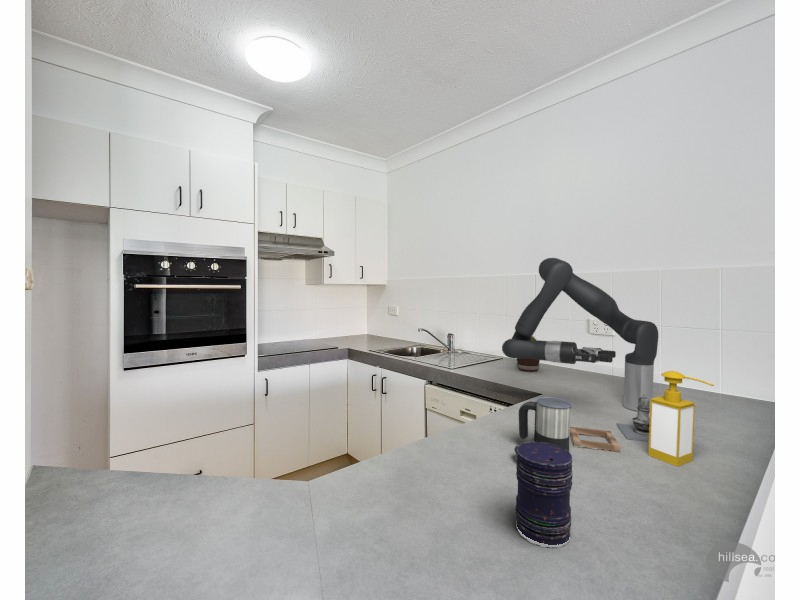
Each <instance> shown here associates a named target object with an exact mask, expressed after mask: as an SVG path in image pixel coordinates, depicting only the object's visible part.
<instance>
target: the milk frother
mask: <svg viewBox="0 0 800 600" xmlns="http://www.w3.org/2000/svg"><path fill="white" fill-rule="evenodd" d="M572 407H573V403H572V402H571V401H569V400H567V399H564V398H559V397H553V396H540V397H537V398H536V399H535V401H531V400H530V401H526V402H524V403H523V404H522V405H521V406H520V407H519V409H518V429H519V430H518V432H519V438H520V439H521V440H525V439H527V438H528V436H529V418H528V417H529V413H528V412H529V411H530V410H531V411H534V414H535V415H534V431H533V433H534V436H533V442H542V443H548V444H552V445H556V446H559V447H561V448H563V449H565V450H567V451H568V452H569V453H570V427H571V412H572V411H571V410H572V409H571V408H572ZM518 446H519V445H516V446H515V447H514V450H513V451H514V452H515V454H516V455H517V448H518Z"/></svg>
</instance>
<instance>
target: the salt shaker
mask: <svg viewBox="0 0 800 600" xmlns="http://www.w3.org/2000/svg"><path fill="white" fill-rule="evenodd" d="M637 409H638V411H637V414H636V417H635V416H634V417H632V418H631V420H632V423H633V425H635V427H637V428H635V429H633V431H634V432H635V433H638V434H641V435H649V426H650V409H649V399H648V398H646V397H645V395H644V394H643V396H642V397H639V399H638V407H637Z"/></svg>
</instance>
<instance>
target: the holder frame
mask: <svg viewBox="0 0 800 600" xmlns="http://www.w3.org/2000/svg"><path fill="white" fill-rule="evenodd" d="M579 434H585V435H584V436H587V435H593V436H592V437H596V436H603V437H602V438H605V437H606V438H607V439H606V440H608V441H607V442H601V441H593V440H585V439H580V437H579ZM570 435H571V436H570ZM569 436H570V438H571V437H572V439H571V441H572V440H573V441H572V443H574V444H573V446H574V445H575V446H583V447H588V448H587V449H589V448H597V449H604V450H603V451H605V450H611V451H610V452H613V451H617V452H616V453H621V448H622V447H621V445H620V443H619V442H618V441H617V439H616V437H615V436H614V434H613V433H612V431H611V430H605V429H603V430H602V429H595V428H586V427H578V426H577V427H575V426H570V434H569ZM597 449H596V450H597Z"/></svg>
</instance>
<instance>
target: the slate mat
mask: <svg viewBox="0 0 800 600" xmlns="http://www.w3.org/2000/svg"><path fill="white" fill-rule="evenodd" d="M616 426H617V428H618V429H619V430H621V431H620V432H621V434H622V435H623V434H624V435H623V436H624V438H625V437H626V438H625V439H626V440H630V439H633V441H639V440H642V441H641V442H648V441H649V435H641V434H638V433H635V432H634V431H633V429H635V428H637V427H635V425H634V424H627V423H618V422H617V423H616Z"/></svg>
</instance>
